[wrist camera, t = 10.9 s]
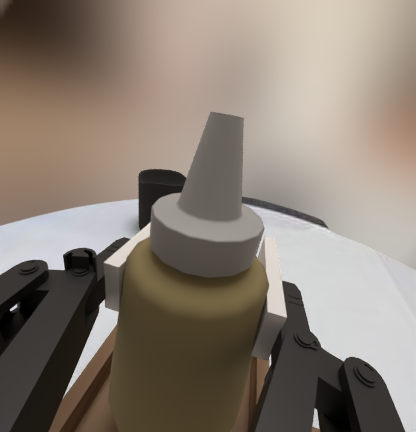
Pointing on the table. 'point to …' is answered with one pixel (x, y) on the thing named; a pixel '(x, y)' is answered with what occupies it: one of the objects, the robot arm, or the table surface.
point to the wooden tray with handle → (99, 391)
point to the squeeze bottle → (191, 299)
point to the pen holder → (156, 190)
